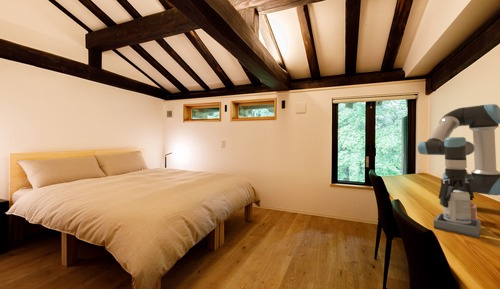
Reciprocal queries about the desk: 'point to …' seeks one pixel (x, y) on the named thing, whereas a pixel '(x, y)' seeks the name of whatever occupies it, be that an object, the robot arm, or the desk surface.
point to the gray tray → (458, 226)
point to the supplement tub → (459, 208)
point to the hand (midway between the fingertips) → (456, 213)
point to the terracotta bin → (473, 211)
